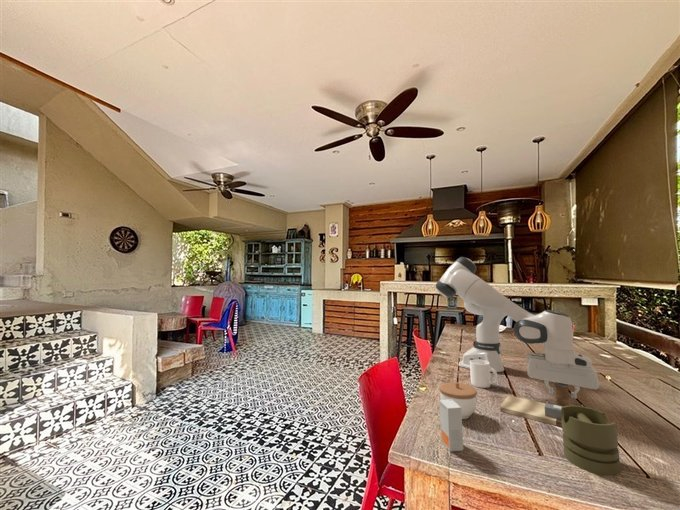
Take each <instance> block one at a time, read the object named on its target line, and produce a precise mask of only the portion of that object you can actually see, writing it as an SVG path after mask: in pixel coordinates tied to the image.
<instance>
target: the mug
mask: <svg viewBox="0 0 680 510" xmlns="http://www.w3.org/2000/svg"><path fill="white" fill-rule="evenodd" d="M490 371H492V372H490ZM469 372H470V373H469V374H470V375H469V376H470V384H471V386H472V387H475V388H476V387H477V388H479V389H481V388H482V389H486V388H487V389H488V388H491V386H492V385H495V384H497V383H498V381H499V375H498V372H496V371H495V370H494V369H493V368H491V367H490V363H489V362H488V361H484V360H477V359H475V360H470V369H469ZM491 373H493V375H494V380H492V378H491Z"/></svg>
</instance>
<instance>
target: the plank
mask: <svg viewBox="0 0 680 510" xmlns="http://www.w3.org/2000/svg"><path fill="white" fill-rule="evenodd" d="M546 403H547V402H546ZM546 403H545V402H542V401H541V402H540V401H537V400H532V399H528V398H524V397H520V396H515V395H507V396H506V397H505V399H504V400H503V402H502V403H501V405H500V407H499V410H500V412H502V413H506V414H510V415H514V416H518V417H522V418H525V419H527V420H528V419H529V420H533V421H537V422H540V423H544V424H547V425H552V426H556V427H560V428H562V420H559V419H556V418H552V417H548V416H545V405H546Z"/></svg>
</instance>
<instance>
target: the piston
mask: <svg viewBox="0 0 680 510" xmlns="http://www.w3.org/2000/svg"><path fill="white" fill-rule="evenodd" d="M561 420H562V427H561V431H562V433H563V434H562V443H563V455H564V458H565V459H566V460H567V461H568V462H569V463H570V464H572V465H574V466H575V467H577V468H578V469H581V470H583V471H585V472H589V473H592V474H594V475H599V476H604V477H616V476H619V475H620V474H621V463H620V462H621V461H620V452H619V448H618V447H619V440H618V439H619V438H618V428H617V422H614V421H612V422H611V423H610V421H609V420H608V419H607V417H606V412H604V411H600V410H598V409H595V408H591V407H586V406H582V405H569V406H563V407H562V408H561Z"/></svg>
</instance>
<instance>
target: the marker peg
mask: <svg viewBox="0 0 680 510" xmlns="http://www.w3.org/2000/svg"><path fill="white" fill-rule="evenodd" d="M554 385H555V396H556V405H557V406H562V407H563V406H569V405H570V394H569V385H568V384H562V383H557V382H554Z"/></svg>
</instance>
